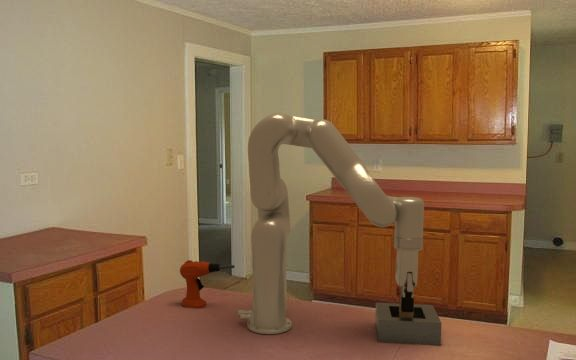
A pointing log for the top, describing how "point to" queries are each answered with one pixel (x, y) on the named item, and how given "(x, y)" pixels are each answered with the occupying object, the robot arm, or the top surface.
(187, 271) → the toy drill
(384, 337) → the socket block
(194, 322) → the top surface
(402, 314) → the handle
